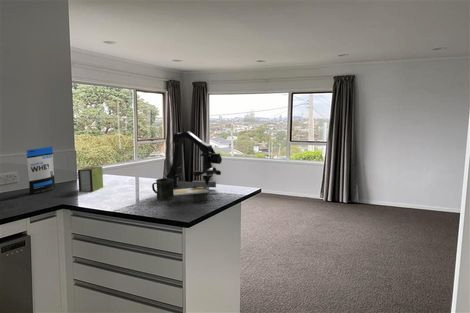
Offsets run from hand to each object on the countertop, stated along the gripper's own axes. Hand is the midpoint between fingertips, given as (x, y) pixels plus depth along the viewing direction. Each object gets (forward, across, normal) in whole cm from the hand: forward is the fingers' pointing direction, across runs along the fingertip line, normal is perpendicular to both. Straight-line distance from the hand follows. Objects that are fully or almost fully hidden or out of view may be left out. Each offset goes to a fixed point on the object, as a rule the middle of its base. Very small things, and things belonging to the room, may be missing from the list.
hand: (206, 185), depth 243 cm
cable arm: (+2, -1, +4) cm, 4 cm away
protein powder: (+6, -106, +43) cm, 114 cm away
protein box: (+6, -74, +36) cm, 83 cm away
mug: (+5, -32, -11) cm, 35 cm away
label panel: (+4, -13, 0) cm, 13 cm away
